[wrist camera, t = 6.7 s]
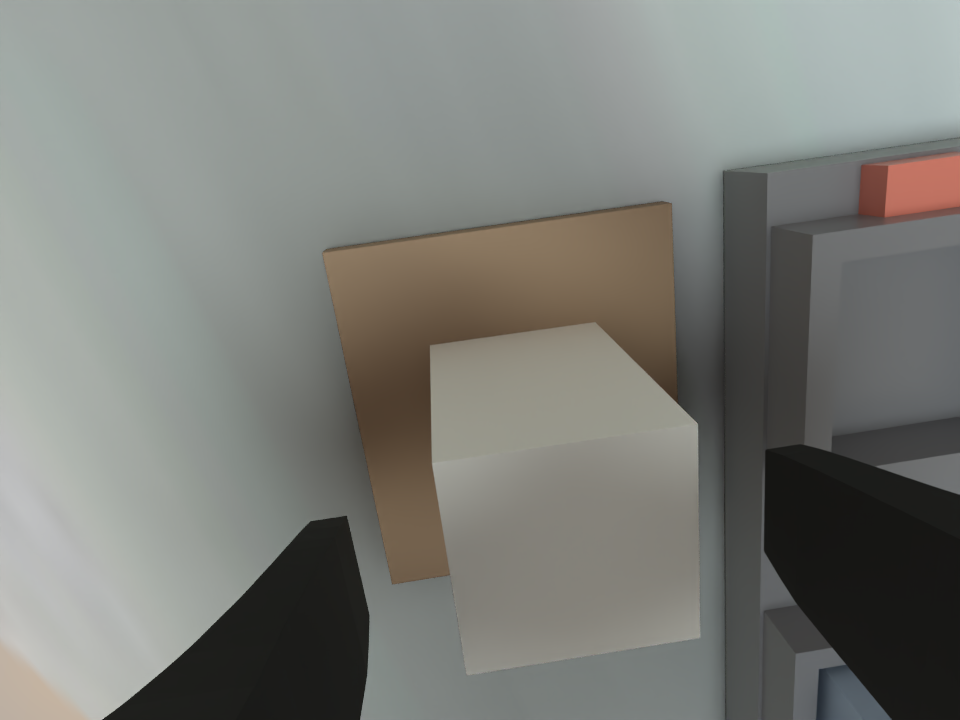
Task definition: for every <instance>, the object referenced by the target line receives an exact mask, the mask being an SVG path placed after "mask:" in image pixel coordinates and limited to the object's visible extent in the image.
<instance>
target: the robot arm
mask: <svg viewBox="0 0 960 720" xmlns="http://www.w3.org/2000/svg"><path fill="white" fill-rule="evenodd" d="M764 552H765V554H766V556H767V557H768V559H769V561H770V562H771V564H772V566H773V567H774V569H775V571H776V572H777V574H778V576H779V577H780V579H781V581H782V582H783V584H784V585H785V587H786V588H787V590H788V591H789V593H790V595H791V596H792V598H793V599H794V601H795V602H796V603H797V605H798V606H799V607H800V609H801V610H802V611H803V612H804V614H805V615H806V616H807V617H808V619H809V620H810V621H811V622H812V624H813V625H814V626H815V627H816V628H817V630H818V631H819V632H820V633H821V635H822V636H823V637H824V638H825V640H826V641H827V642H828V643H829V644H830V646H831V647H832V648H833V649H834V650H835V652H836V653H837V654H838V655H839V657H840V658H841V659H842V660H843V661H844V663H845V664H846V665H847V666H848V667H849V669H850V670H851V671H852V672H853V673H854V675H855V676H856V677H857V678H858V679H859V681H860V682H861V683H862V684H863V686H864V687H865V688H866V689H867V690H868V692H869V693H870V694H871V695H872V696H873V698H874V699H875V700H876V701H877V702H878V704H879V705H880V706H881V707H882V709H883V710H884V711H885V712H886V713H887V715H888V716H889V717H890V718H891V719H892V720H960V495H959V494H956V493H953V492H950V491H946V490H943V489H940V488H937V487H934V486H931V485H928V484H925V483H922V482H919V481H916V480H913V479H910V478H907V477H904V476H901V475H898V474H895V473H892V472H889V471H886V470H884V469H881V468H878V467H875V466H872V465H869V464H866V463H863V462H860V461H857V460H854V459H851V458H848V457H845V456H842V455H839V454H835V453H832V452H829V451H826V450H822V449H819V448H815V447H811V446H807V445H802V444H797V445H791V446H785V447H778V448H772V449H766V450H765V502H764ZM368 648H369V611H368V607H367V603H366V598H365V594H364V589H363V585H362V581H361V576H360V572H359V567H358V563H357V559H356V554H355V550H354V545H353V541H352V537H351V532H350V528H349V524H348V519H347V516H342V517H336V518H330V519H323V520H317V521H311V522H310V523H309V524H308V525H307V526H306V527H305V528H304V529H303V530H302V531H301V532H300V533H299V534H298V535H297V536H296V537H295V538H294V539H293V541H292V542H291V543H290V544H289V545H288V546H287V547H286V548H285V550H284V551H283V552H282V553H281V554H280V555H279V556H278V557H277V559H276V560H275V561H274V562H273V563H272V564H271V565H270V566H269V567H268V568H267V570H266V571H265V572H264V573H263V574H262V575H261V576H260V577H259V578H258V579H257V580H256V581H255V583H254V584H253V585H252V586H251V587H250V588H249V589H248V590H247V591H246V592H245V593H244V594H243V596H242V597H241V598H240V599H239V600H238V601H237V602H236V603H235V604H234V605H233V606H232V607H231V608H230V609H229V610H228V611H226V612H225V613H224V614H223V615H222V616H221V617H220V618H219V619H218V620H217V621H216V622H215V623H214V624H213V625H212V626H211V627H210V628H209V629H208V630H207V631H206V632H205V633H204V634H203V635H202V636H201V637H200V638H199V639H198V640H197V641H196V642H195V643H194V644H193V645H192V646H191V647H190V648H189V649H188V650H186V651H185V652H184V653H183V654H182V655H181V656H180V657H179V658H178V659H176V660H175V661H174V662H173V663H172V664H171V665H170V666H168V667H167V668H166V669H165V670H164V671H163V672H161V673H160V674H159V675H158V676H157V677H155V678H154V679H153V680H152V681H151V682H149V683H148V684H147V685H146V686H145V687H144V688H142V689H141V690H140V691H139V692H138V693H136V694H135V695H134V696H133V697H131V698H130V699H129V700H128V701H126V702H125V703H124V704H123V705H121V706H120V707H119V708H117V709H116V710H115V711H113V712H112V713H111V714H109V715H108V716H107V717H105V718H104V719H103V720H360V716H361V710H362V704H363V698H364V691H365V685H366V678H367V668H368Z"/></svg>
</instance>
